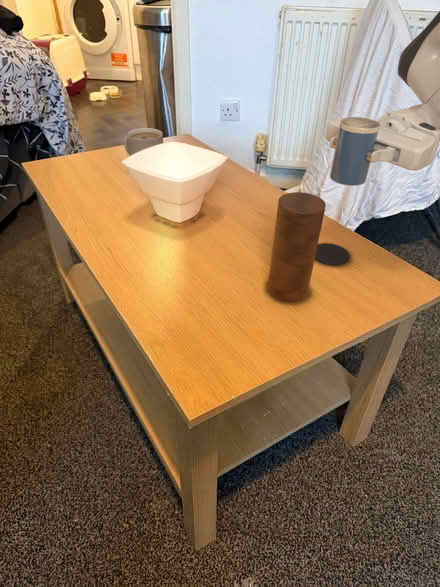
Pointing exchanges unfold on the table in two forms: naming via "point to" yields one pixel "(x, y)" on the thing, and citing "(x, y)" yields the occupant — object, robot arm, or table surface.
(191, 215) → the bowl
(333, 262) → the coaster
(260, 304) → the table surface
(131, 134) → the coffee mug
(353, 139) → the tumbler
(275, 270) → the stand
